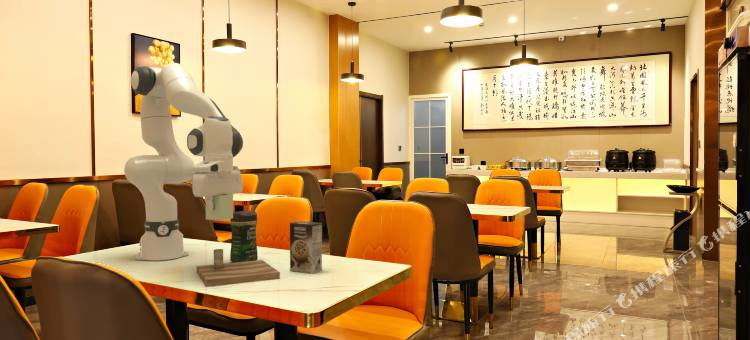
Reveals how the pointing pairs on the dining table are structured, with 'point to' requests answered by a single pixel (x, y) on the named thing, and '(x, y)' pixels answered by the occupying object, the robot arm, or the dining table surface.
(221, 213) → the beige piece
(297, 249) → the coffee box
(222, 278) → the post board
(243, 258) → the coffee jar
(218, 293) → the dining table surface
